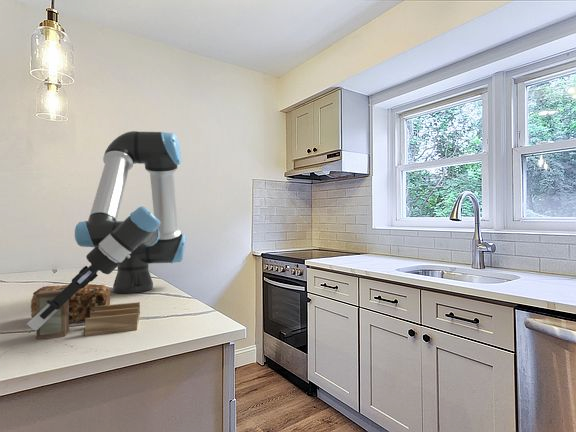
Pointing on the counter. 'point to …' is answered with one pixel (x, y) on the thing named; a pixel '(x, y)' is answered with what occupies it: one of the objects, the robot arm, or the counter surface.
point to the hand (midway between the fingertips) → (35, 324)
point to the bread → (79, 300)
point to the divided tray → (113, 318)
